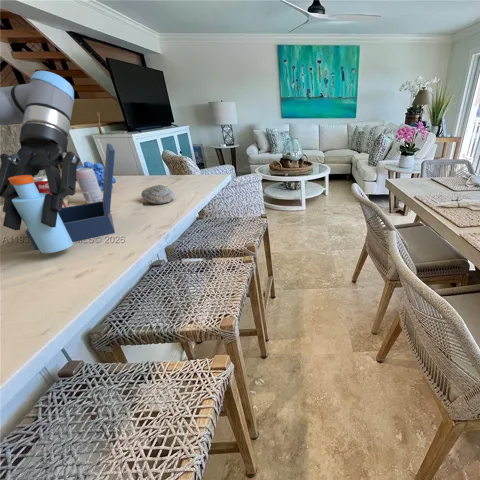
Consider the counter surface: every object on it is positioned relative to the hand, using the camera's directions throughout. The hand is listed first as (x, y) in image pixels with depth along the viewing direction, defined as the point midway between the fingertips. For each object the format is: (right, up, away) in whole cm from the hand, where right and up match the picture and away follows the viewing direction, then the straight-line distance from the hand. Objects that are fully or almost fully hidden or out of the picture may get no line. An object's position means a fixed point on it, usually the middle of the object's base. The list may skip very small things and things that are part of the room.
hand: (30, 226), depth 54 cm
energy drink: (-22, +11, +42) cm, 49 cm away
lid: (+1, +15, +18) cm, 23 cm away
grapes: (-31, +17, +55) cm, 65 cm away
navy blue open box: (-7, -1, +19) cm, 20 cm away
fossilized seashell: (0, +12, +44) cm, 46 cm away
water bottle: (-1, -5, +6) cm, 8 cm away
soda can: (-26, +5, +32) cm, 41 cm away
